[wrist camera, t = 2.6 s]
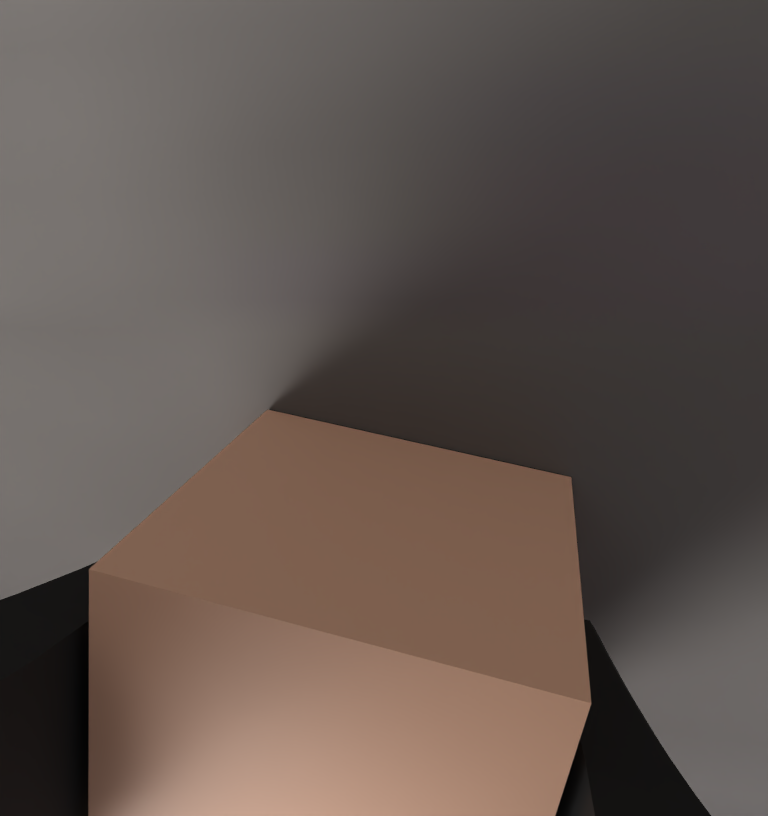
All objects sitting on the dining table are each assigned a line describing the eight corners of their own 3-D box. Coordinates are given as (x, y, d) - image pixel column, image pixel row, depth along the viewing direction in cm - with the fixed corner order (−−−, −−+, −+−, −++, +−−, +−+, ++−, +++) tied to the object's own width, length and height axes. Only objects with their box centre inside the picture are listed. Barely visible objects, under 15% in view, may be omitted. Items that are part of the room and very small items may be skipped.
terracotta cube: (503, 724, 13) (482, 1041, 8) (244, 652, 14) (88, 906, 9) (570, 477, 11) (591, 704, 6) (268, 409, 12) (89, 569, 7)
